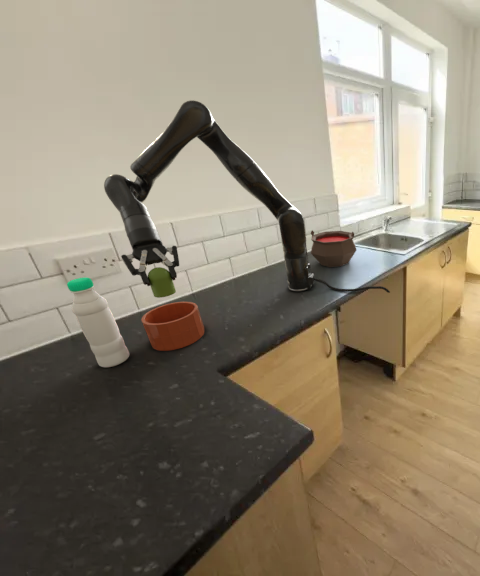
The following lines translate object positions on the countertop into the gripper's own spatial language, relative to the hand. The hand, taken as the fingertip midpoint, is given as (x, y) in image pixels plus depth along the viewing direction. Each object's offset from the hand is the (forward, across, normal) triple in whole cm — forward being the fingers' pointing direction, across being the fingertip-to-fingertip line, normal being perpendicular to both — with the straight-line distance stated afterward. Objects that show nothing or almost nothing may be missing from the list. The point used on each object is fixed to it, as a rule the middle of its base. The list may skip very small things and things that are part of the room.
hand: (161, 281), depth 92 cm
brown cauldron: (-4, +74, +32) cm, 81 cm away
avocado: (+2, 0, +4) cm, 5 cm away
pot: (+13, 0, +15) cm, 20 cm away
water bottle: (+14, -16, +14) cm, 26 cm away
